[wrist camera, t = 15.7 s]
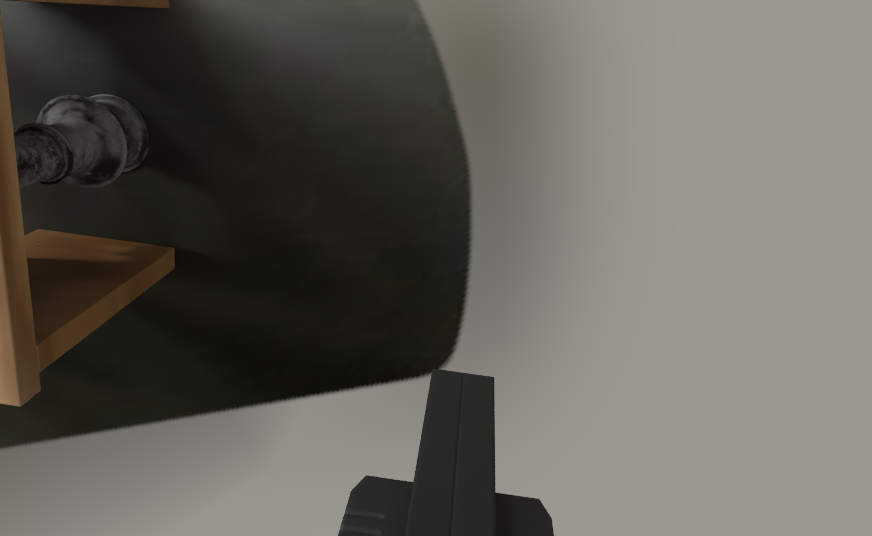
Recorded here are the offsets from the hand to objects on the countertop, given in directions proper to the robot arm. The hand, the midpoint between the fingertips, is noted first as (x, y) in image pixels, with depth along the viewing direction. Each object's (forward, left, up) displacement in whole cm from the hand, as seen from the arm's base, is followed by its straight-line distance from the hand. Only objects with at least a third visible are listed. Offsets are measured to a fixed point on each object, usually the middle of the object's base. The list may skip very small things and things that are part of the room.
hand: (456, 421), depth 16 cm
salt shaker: (+13, -21, -30) cm, 39 cm away
